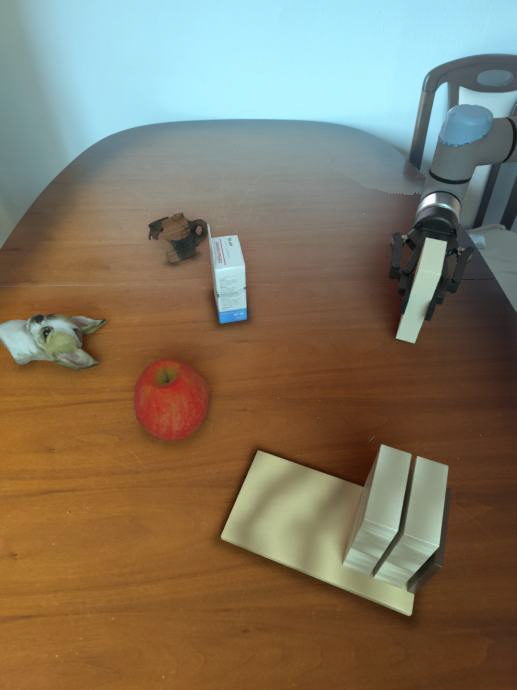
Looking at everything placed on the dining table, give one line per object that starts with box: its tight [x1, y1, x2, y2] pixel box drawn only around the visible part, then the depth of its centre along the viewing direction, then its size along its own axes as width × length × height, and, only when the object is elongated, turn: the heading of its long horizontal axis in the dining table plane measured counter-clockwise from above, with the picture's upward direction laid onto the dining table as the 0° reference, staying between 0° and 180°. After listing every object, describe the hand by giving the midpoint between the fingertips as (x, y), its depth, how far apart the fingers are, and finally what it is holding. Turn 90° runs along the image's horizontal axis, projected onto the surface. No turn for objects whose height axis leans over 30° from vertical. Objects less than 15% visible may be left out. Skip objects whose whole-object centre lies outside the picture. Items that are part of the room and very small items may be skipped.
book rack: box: [220, 443, 452, 617], centre depth 49 cm, size 22×12×15 cm, turn 69°
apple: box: [133, 358, 211, 442], centre depth 61 cm, size 10×10×10 cm
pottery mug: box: [147, 212, 208, 264], centre depth 89 cm, size 12×10×8 cm
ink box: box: [207, 223, 248, 324], centre depth 74 cm, size 9×5×15 cm, turn 10°
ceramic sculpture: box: [0, 313, 108, 371], centre depth 69 cm, size 11×9×15 cm
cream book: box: [395, 238, 447, 344], centre depth 69 cm, size 3×8×14 cm, turn 159°
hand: (416, 310), depth 65 cm, fingers closed on cream book, 3 cm apart
